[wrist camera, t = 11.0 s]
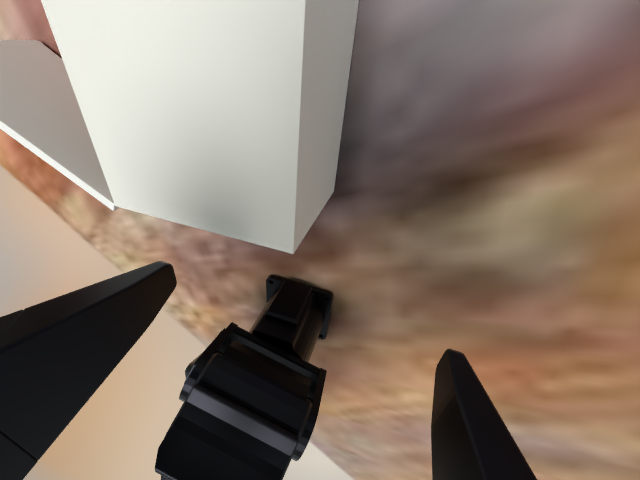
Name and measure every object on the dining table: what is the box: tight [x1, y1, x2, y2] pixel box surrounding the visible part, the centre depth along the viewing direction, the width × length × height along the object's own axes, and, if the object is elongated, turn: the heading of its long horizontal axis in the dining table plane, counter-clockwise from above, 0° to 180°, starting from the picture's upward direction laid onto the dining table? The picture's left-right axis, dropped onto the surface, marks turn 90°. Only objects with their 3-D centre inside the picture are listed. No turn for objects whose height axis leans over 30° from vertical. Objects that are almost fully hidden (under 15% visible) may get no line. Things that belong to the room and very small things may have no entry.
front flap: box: [0, 40, 120, 211], centre depth 18 cm, size 14×1×12 cm, turn 54°
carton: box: [41, 0, 359, 254], centre depth 15 cm, size 14×11×8 cm
